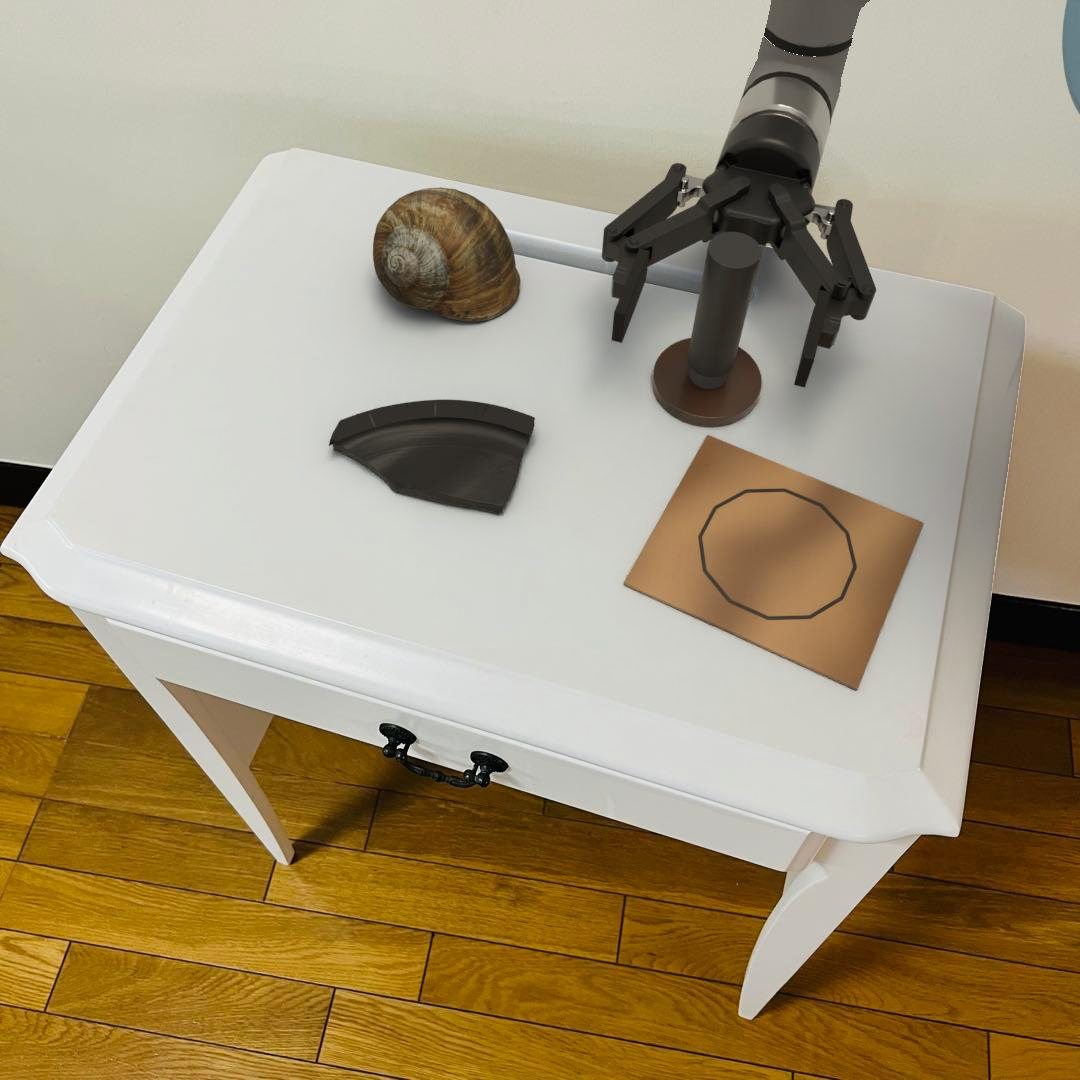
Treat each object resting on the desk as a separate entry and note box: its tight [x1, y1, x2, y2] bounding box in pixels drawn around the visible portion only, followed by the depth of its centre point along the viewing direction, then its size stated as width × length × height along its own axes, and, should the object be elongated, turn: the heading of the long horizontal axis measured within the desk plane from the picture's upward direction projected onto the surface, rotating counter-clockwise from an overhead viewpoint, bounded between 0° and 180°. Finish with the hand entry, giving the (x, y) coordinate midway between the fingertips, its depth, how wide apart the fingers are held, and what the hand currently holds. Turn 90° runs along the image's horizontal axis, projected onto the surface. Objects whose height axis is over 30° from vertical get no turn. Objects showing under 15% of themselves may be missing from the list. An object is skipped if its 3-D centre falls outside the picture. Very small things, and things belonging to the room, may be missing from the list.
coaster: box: [651, 337, 763, 428], centre depth 77 cm, size 8×8×1 cm
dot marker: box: [687, 232, 762, 389], centre depth 72 cm, size 3×3×12 cm
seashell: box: [372, 187, 521, 322], centre depth 80 cm, size 11×9×8 cm
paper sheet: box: [623, 434, 924, 691], centre depth 70 cm, size 16×14×1 cm
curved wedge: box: [328, 399, 536, 514], centre depth 74 cm, size 8×14×2 cm, turn 74°
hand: (709, 350), depth 70 cm, fingers open, 12 cm apart
